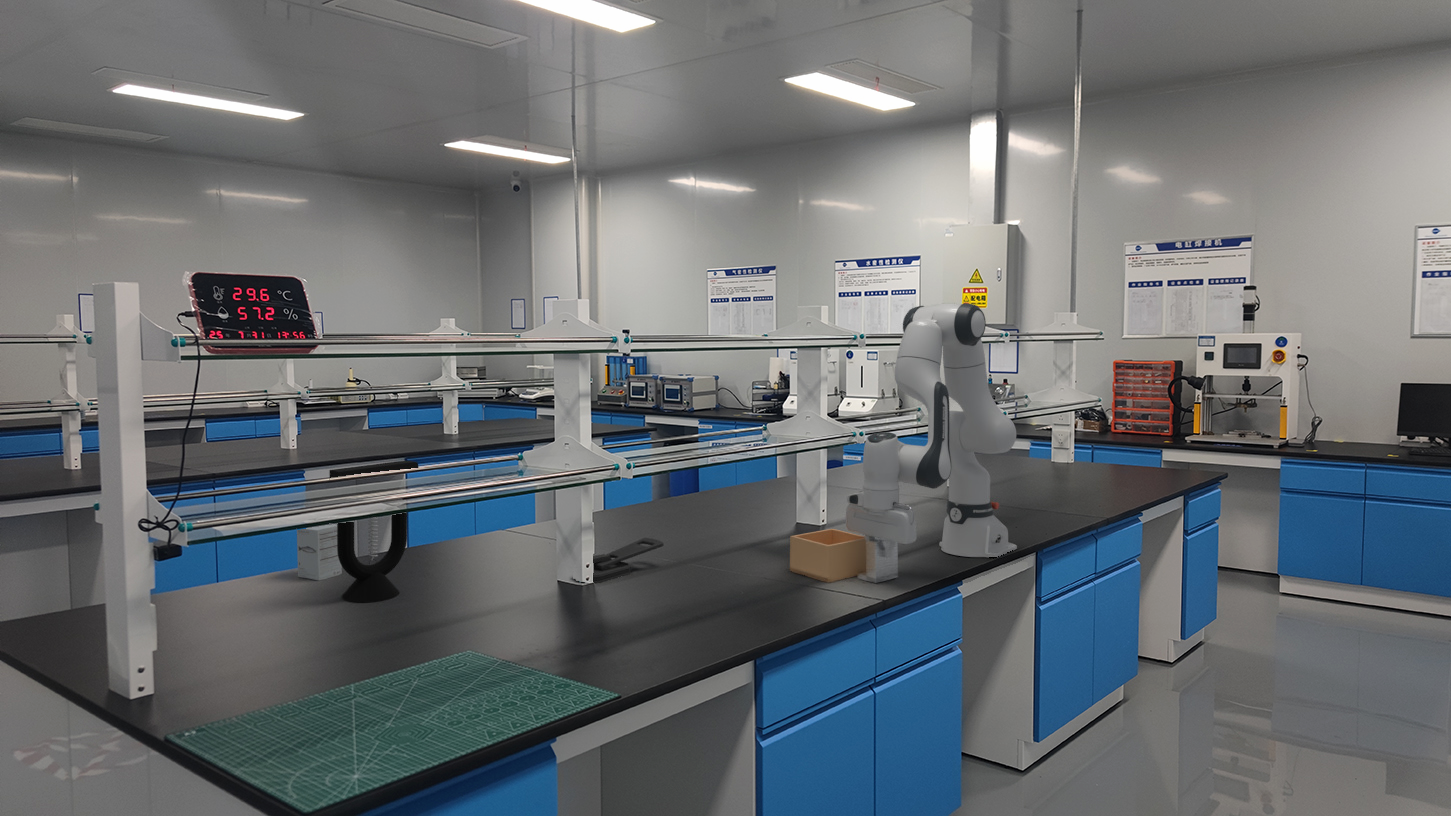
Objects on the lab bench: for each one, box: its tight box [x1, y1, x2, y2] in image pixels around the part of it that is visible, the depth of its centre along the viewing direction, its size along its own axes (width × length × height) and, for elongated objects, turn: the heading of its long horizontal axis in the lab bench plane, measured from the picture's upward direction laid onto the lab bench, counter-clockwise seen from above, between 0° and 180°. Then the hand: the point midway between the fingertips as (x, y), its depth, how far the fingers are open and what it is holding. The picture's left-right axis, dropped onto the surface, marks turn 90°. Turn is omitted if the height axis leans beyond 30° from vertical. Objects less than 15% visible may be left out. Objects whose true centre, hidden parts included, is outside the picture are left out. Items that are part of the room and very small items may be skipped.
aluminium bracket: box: [857, 537, 899, 584], centre depth 222 cm, size 8×6×10 cm
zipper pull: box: [592, 537, 665, 584], centre depth 226 cm, size 9×7×25 cm
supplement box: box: [296, 523, 343, 582], centre depth 221 cm, size 7×7×13 cm
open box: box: [789, 528, 867, 584], centre depth 227 cm, size 15×14×9 cm
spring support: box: [329, 459, 419, 603], centre depth 206 cm, size 21×12×30 cm, turn 147°
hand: (880, 555), depth 220 cm, fingers closed on aluminium bracket, 3 cm apart
